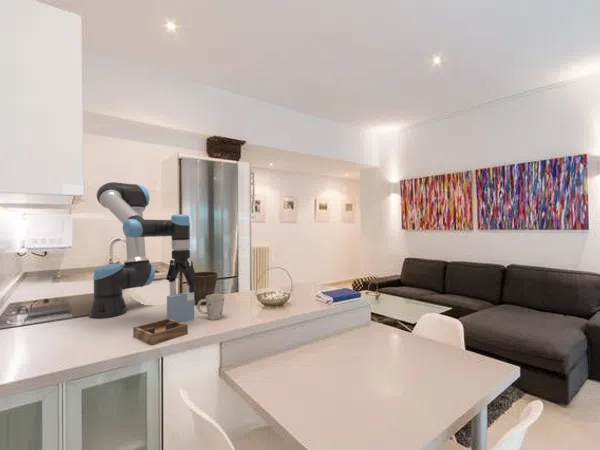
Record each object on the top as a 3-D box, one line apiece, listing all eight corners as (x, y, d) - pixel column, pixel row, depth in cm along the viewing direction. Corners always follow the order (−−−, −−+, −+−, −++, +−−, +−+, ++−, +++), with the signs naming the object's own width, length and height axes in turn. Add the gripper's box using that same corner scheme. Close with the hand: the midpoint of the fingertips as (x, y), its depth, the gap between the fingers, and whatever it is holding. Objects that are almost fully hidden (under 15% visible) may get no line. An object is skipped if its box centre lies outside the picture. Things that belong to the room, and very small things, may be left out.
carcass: (133, 336, 114) (133, 327, 114) (168, 326, 125) (168, 318, 125) (151, 345, 105) (151, 335, 105) (187, 333, 116) (187, 324, 116)
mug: (221, 320, 133) (221, 298, 133) (193, 320, 133) (193, 298, 133) (226, 315, 141) (226, 293, 141) (200, 315, 141) (199, 293, 141)
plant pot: (221, 300, 169) (221, 271, 169) (210, 307, 155) (210, 276, 155) (196, 299, 171) (196, 271, 171) (183, 306, 157) (183, 275, 157)
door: (166, 324, 128) (166, 296, 128) (189, 317, 137) (189, 291, 137) (171, 325, 126) (171, 297, 126) (194, 319, 135) (194, 292, 135)
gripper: (157, 249, 136) (158, 296, 136) (189, 251, 121) (190, 303, 121) (173, 248, 142) (173, 293, 142) (205, 249, 127) (206, 299, 127)
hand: (181, 298), depth 131 cm, fingers open, 13 cm apart
